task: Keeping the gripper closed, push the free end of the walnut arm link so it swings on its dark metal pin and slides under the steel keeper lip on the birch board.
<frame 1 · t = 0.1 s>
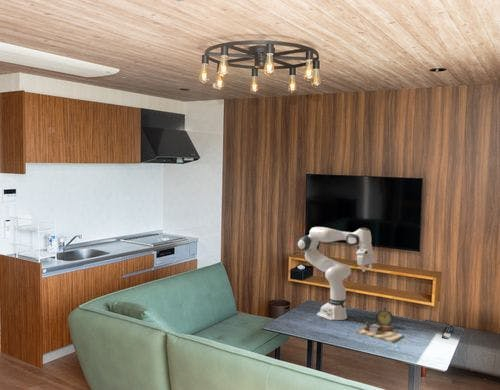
hand: (367, 270, 337), 39 cm above the table, tool pointing down, fingers open, 8 cm apart
link: (378, 326, 323), point 4 cm above the table, hinge at 35.0°
alarm clock: (384, 326, 335), on the table
base board: (379, 334, 318), on the table
keeper: (375, 333, 320), resting on base board
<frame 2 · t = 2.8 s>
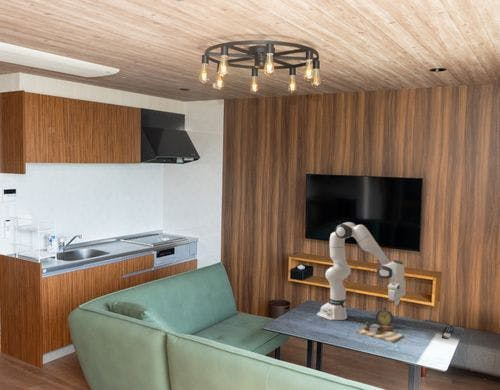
hand: (397, 304, 327), 18 cm above the table, tool pointing down, fingers closed
nothing on the table moved.
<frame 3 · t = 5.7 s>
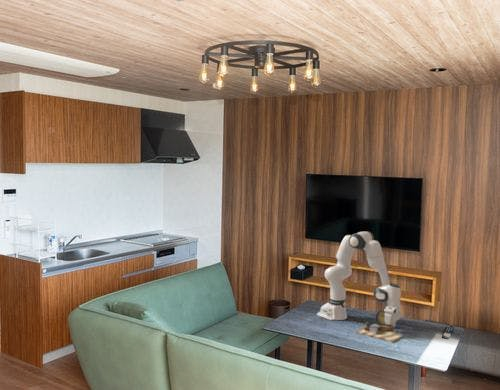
hand: (393, 327, 325), 3 cm above the table, tool pointing down, fingers closed
link: (378, 326, 323), point 4 cm above the table, hinge at 34.1°, touching gripper
everything else where it was.
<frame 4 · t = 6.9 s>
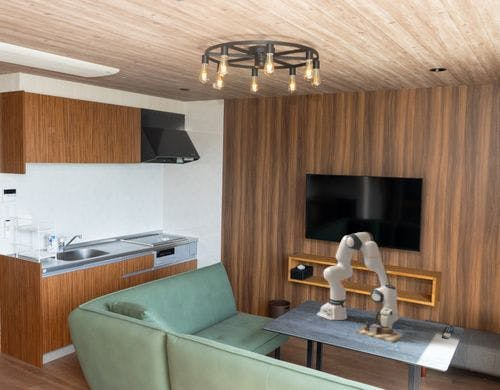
hand: (389, 330, 319), 3 cm above the table, tool pointing down, fingers closed
link: (378, 327, 320), point 4 cm above the table, hinge at 10.7°, touching gripper
everything else where it was.
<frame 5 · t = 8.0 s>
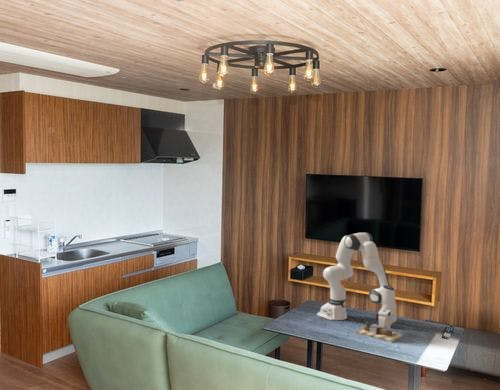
hand: (388, 331, 317), 3 cm above the table, tool pointing down, fingers closed
link: (377, 328, 319), point 4 cm above the table, hinge at -0.3°, touching gripper
everything else where it was.
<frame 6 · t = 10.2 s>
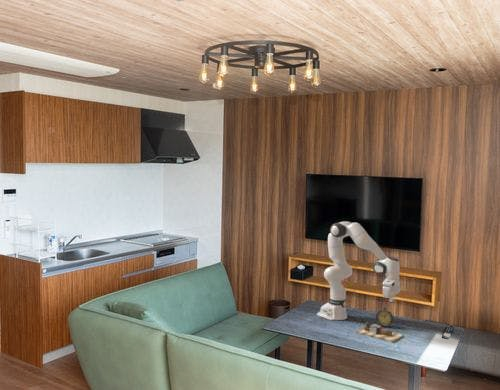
hand: (391, 301, 322), 21 cm above the table, tool pointing down, fingers closed
link: (377, 328, 319), point 4 cm above the table, hinge at -0.5°
everything else where it was.
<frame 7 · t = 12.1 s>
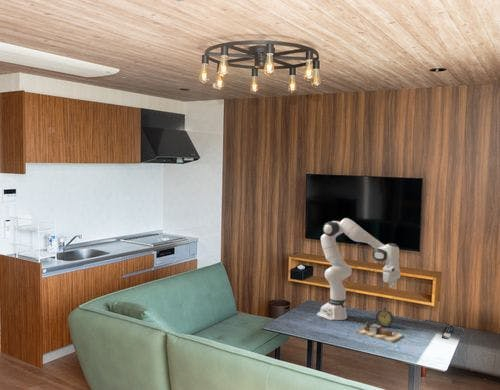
hand: (391, 286, 329), 29 cm above the table, tool pointing down, fingers closed
nothing on the table moved.
at the end: link at +0° (first picture: +35°) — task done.
